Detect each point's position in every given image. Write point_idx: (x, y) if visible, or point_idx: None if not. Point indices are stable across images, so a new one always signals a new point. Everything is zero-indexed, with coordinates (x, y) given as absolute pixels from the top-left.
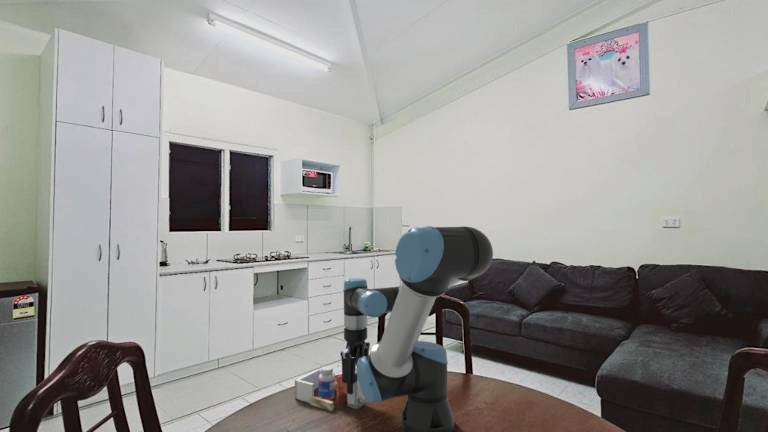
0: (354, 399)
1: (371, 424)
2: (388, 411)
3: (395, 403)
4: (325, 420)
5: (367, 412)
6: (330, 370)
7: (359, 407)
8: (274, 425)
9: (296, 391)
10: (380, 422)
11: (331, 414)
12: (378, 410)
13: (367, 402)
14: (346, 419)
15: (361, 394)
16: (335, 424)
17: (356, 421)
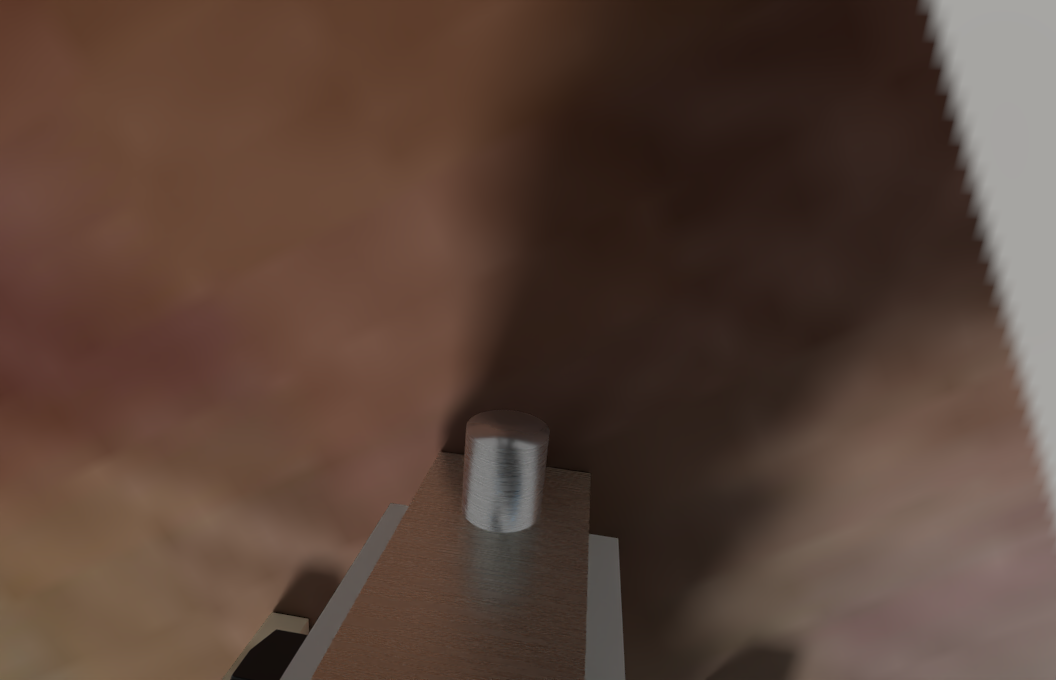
0: (620, 588)
1: (928, 131)
2: (474, 77)
3: (221, 93)
4: (963, 672)
5: (616, 334)
6: None
7: (550, 470)
8: None
9: None
10: (832, 29)
11: (808, 668)
12: (508, 225)
13: (484, 415)
14: (877, 488)
15: (476, 558)
16: (1036, 549)
17: (896, 359)
